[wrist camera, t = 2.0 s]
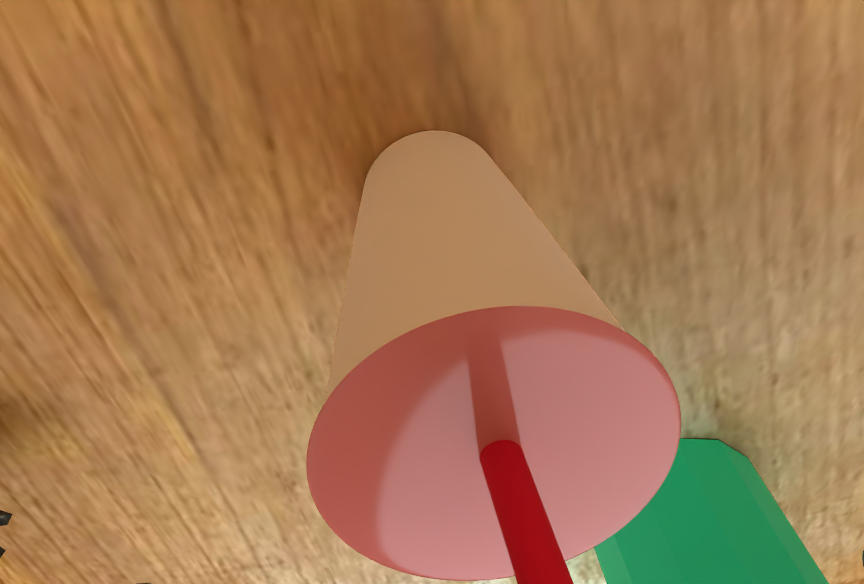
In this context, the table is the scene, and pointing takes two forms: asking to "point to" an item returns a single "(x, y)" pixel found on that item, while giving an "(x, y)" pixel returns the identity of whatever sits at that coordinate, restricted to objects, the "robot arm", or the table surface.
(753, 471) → the candle
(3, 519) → the mineral specimen
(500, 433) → the cup
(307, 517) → the table surface
